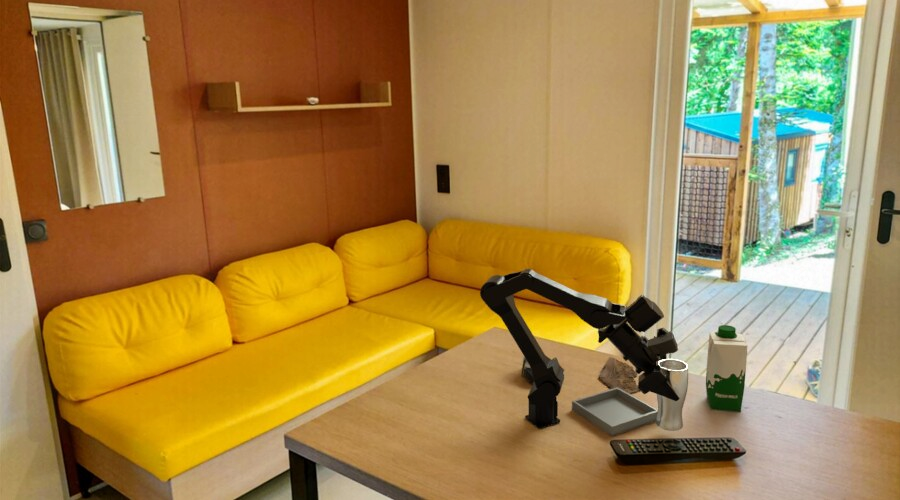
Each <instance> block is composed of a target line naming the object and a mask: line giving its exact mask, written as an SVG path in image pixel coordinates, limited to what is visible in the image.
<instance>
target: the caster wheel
mask: <svg viewBox="0 0 900 500" xmlns="http://www.w3.org/2000/svg"><path fill="white" fill-rule="evenodd" d="M522 358H523V359H522V367H521V377H522V376H523V375H524V376H525V378H526V380H527V381H528V382H529V383H530V384H532V385H533V383H534V380H533V376H532V372H531V368H530V365H529V363H528V362H527V360H526V358H525V357H524V356H523V357H522Z"/></svg>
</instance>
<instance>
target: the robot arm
mask: <svg viewBox="0 0 900 500" xmlns="http://www.w3.org/2000/svg"><path fill="white" fill-rule="evenodd" d="M524 290H525V291H526V290H528V291H530V292H531V293H534V294H536V295H538V296H541V297H543V298H545V299H547V300H549V301H551V302H552V303H556V304H557V305H559V306H562V307H563V308H566V309H568V310H570V311H571V312H573V314H574V313H575V315H577V317H578V318H580V320H582V321H583V322H584V323H586V324H587V325H589V326H590V327H592V328H594V329H597V334H598V340H597V342H598V344H601V343H602V342H604V341H605V340H606V339H607V340H608V341H609V342H610V343H611V344H612V345H613V346H614V347H615V348H616V349H617V350H618V351H619V352H620V353H621V354H622V359H623V360H624V361H625V362H627V361H629V363H631V364H632V365H633V366H634V368H635V370H634V371H635V372H636V373H637V375H639V376H638V380H637V381H638V382H637V385H638V389H639V390H640V391H639V392H641V393H642V394H643V395H647V394H648V393H653V394H655V395H657V394H659V395H661V396H664V397H666V398H669V399H671V400H674V401H678V400H679V399H680V398H679V396H678V395H677V393H676V392H675V391H674V389H673V388H672V386H671V385H670V383H669V382H668V381H667V371H664V369H663V368H662V367H661V366H658V362H659V361H660V360H664V359H668V358H667V355H668V354H675V353H676V352H678V351H679V349H678V343H677V341H676V339H675V335H674V333H673V332H672V331H670V330H669V331H668V330H667V329H666V328H664V327H660V328H658V329H657V332H656V336H653V337H652V338H650V339H649V338H647V337H646V335H645V336H644V335H641V336H640V335H639V334H638V333H641V332H642V333H646V332H647V331H648V330H650V329H651V328H652V327H653V326H654V325H656V324H657V323H659V322H660V321H661V320H662V319H663V318H665V315H664V313H663V311H662V310H661V308H660V307H659V306H658V304H657V303H656V302H654V301H652V300H651V299H650V298H648V297H646V296H645V295H644V294H640V295H639V296H638V297H637V298H636V300H634V301H633V302H631V304H629V305H625V304H624V305H623V304H620V303H614V302H612V301H610V300H609V299H608V298H606V297H602V296H598V295H595V294H589V293H582V292H578V291H576V290H575V289H572V288H569V287H568V286H565V285H563V284H562V283H559V282H557V281H554V280H552V279H551V278H549V277H546V276H544V275H542V274H540V273H538V272H536V271H534V270H533V269H531V268H525V269H523V270H520V271H516V272H511V273H508V274H505V275H499V274H494V275H492V276H490V277H489V278H488V279H487V280H486V281H485V282H484V283H483V285H482V286H481V288H480V292H479V295H480V298H481V300H482V301H483V302H484V304H485V305H486V306H487V307H488V308H489V309H490V310H491V311H492V312H493V313H495V314H496V315H498V316H499V317H500V318H501V320H502V322H503V324H504V325H505V327H506V329H507V330H508V332H509V333H510V335H511V337H512V338H513V340H514V342H515V344H516V345H517V347H518V349H519V350H520V352H521V354H522V355H523V358H524V357H525V358H526V360H527V362H528V363H529V365H530V368H531V372H532V376H533V380H534V383H533V384H532V386H531V388H530V390H529V393H528V395H527V399H528V402H527V403H528V414H527V415H525V416H524V419H526V421H528V422H529V423H531V424H532V425H533V426H535V427H536V428H537V429H543V428H546V427H550V426H553V425H556V424H560V423H561V419H560V418H559V417H558V415H559V413H558V411H559V410H558V409H559V405H558V403H559V402H558V400H557V397H558V396H559V394H560V392H561V390H562V387H563V383H564V381H565V374H564V372H565V368H563V367H562V366H561V364H560V363H559V360H558V358H557V357H553V358H550V357H549V356H547V355H546V354H545V352H544V351H543V349H542V348H541V346H540V344H539V343H538V341H537V339H536V338H535V336H534V334H533V333H532V331H531V329H530V328H529V326H528V324H527V323H526V321H525V318H524V317H523V316H522V315H521V314H522V313H520V311H519V309H518V307H517V306H516V302H515V297H514V295H515V294H517V293H519V292H522V291H524ZM637 332H638V333H637Z"/></svg>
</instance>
